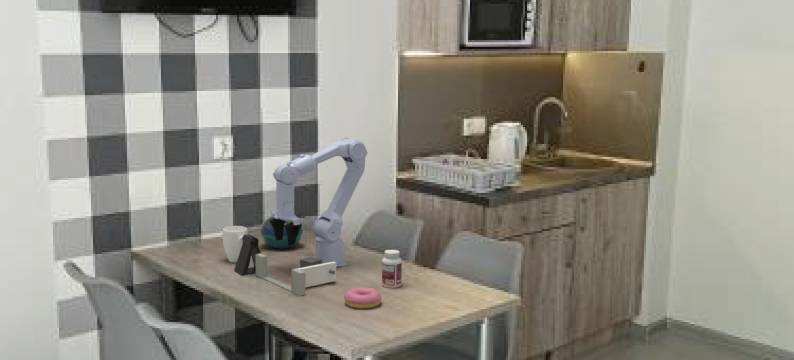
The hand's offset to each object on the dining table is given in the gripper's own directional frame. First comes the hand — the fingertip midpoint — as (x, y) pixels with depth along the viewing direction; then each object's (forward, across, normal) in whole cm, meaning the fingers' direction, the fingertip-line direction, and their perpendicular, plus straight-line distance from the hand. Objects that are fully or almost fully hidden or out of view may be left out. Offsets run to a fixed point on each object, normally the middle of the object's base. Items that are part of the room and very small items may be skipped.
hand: (285, 242), depth 264 cm
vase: (+10, -28, +16) cm, 34 cm away
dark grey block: (+10, +12, +3) cm, 16 cm away
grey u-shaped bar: (+10, +11, -9) cm, 17 cm away
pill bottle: (+10, +32, +19) cm, 39 cm away
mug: (+10, -19, -7) cm, 23 cm away
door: (+9, +19, -1) cm, 22 cm away
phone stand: (+10, -7, -9) cm, 15 cm away
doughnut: (+10, +41, +1) cm, 42 cm away
